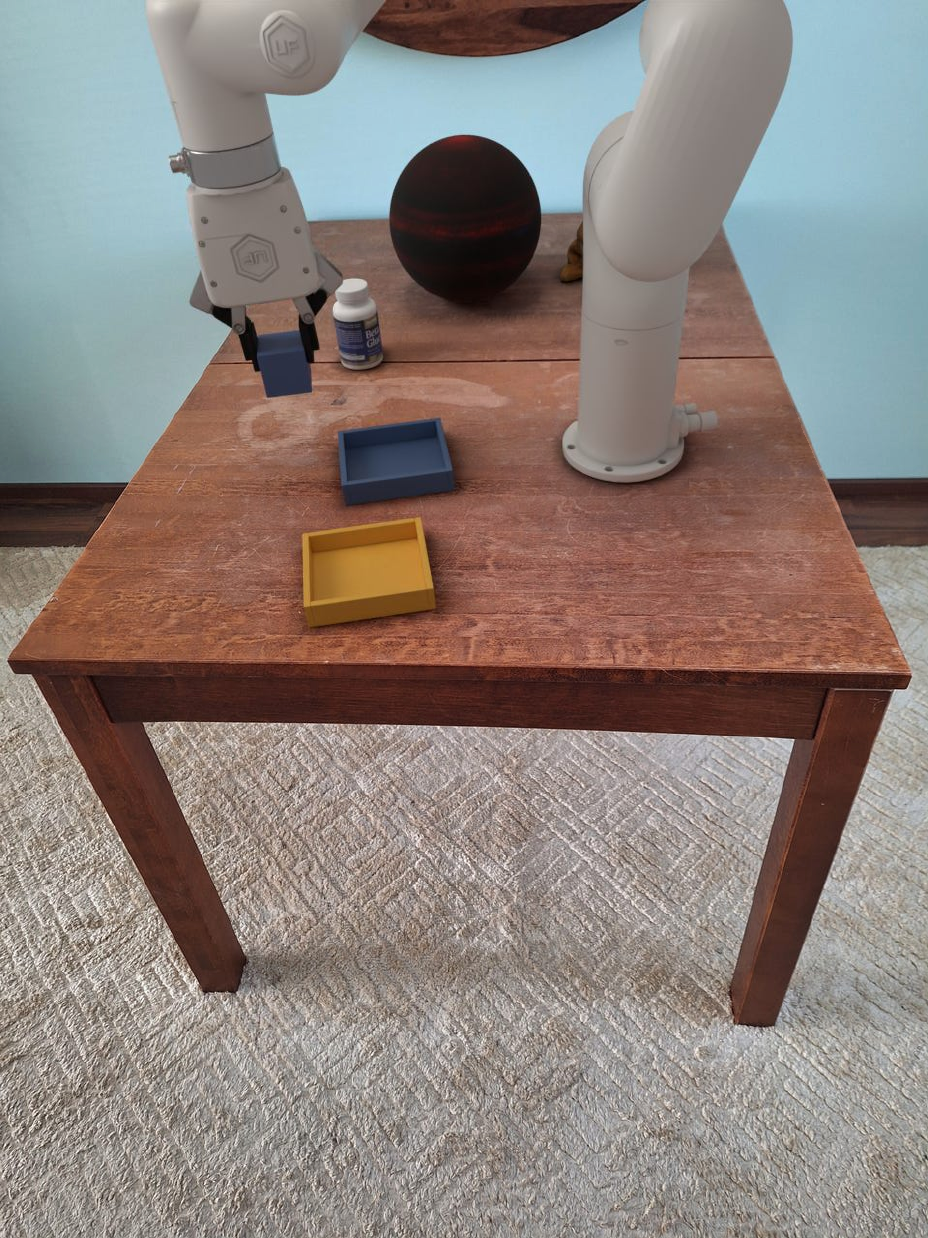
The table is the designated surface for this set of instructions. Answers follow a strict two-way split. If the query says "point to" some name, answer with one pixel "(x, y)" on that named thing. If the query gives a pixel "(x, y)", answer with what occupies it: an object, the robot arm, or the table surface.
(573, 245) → the stuffed squirrel
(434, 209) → the decorative orb
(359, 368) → the pill bottle
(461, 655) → the table surface
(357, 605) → the mustard tray
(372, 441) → the blue tray
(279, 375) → the blue block
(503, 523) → the table surface
